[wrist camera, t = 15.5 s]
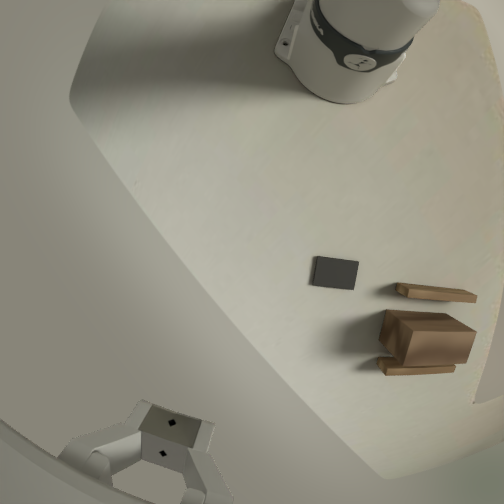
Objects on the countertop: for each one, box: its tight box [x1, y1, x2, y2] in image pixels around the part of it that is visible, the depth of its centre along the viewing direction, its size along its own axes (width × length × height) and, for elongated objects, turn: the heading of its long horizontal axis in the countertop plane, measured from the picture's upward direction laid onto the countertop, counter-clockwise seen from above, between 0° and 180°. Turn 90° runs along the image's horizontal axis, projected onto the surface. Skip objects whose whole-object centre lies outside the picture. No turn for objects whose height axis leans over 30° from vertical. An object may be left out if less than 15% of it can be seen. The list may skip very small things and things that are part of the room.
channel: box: [377, 282, 477, 376], centre depth 41 cm, size 13×14×4 cm
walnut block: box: [379, 309, 477, 366], centre depth 38 cm, size 5×12×9 cm, turn 83°
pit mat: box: [313, 256, 359, 290], centre depth 41 cm, size 4×6×1 cm, turn 83°
